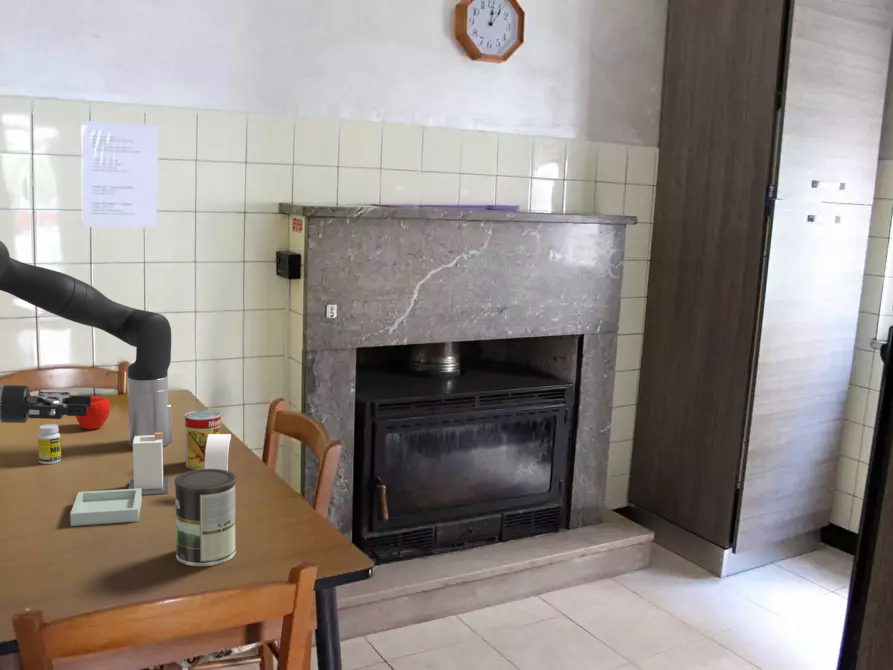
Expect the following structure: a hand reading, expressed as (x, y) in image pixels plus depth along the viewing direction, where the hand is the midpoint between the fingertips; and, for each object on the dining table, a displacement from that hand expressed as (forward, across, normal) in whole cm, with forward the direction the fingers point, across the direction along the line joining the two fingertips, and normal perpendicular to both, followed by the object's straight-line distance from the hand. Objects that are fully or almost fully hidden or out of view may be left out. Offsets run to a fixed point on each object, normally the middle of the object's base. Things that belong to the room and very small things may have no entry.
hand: (89, 405), depth 178 cm
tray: (+5, -12, +18) cm, 23 cm away
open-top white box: (+12, 0, +17) cm, 21 cm away
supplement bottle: (-10, +23, +19) cm, 31 cm away
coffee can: (+23, -37, +18) cm, 47 cm away
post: (+12, 0, +18) cm, 22 cm away
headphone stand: (+26, -6, +17) cm, 32 cm away
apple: (-3, +51, +17) cm, 54 cm away
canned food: (+24, +14, +17) cm, 33 cm away
